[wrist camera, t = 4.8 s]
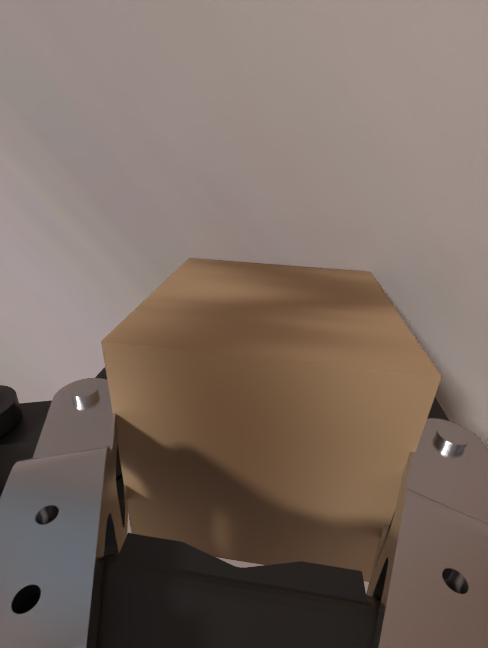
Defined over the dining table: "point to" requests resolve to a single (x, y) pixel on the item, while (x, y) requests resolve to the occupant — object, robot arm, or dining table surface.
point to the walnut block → (267, 411)
